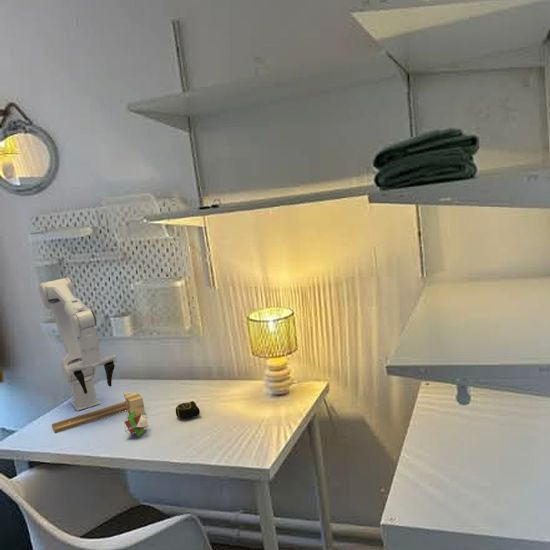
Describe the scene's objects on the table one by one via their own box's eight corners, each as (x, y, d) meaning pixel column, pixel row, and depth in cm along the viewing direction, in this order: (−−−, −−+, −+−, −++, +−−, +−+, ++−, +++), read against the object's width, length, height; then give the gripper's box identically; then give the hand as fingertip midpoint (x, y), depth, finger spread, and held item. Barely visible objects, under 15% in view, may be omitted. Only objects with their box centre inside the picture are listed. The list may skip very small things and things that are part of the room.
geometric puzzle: (115, 432, 174) (125, 412, 171) (127, 422, 180) (137, 402, 177) (135, 446, 173) (145, 426, 170) (146, 435, 179) (156, 415, 177)
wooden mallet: (122, 407, 198) (119, 390, 197) (134, 403, 200) (130, 386, 199) (133, 419, 187) (129, 401, 186) (145, 415, 189) (142, 397, 188)
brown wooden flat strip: (52, 426, 190) (51, 423, 190) (138, 400, 203) (137, 397, 203) (55, 433, 185) (54, 429, 185) (143, 405, 198) (142, 402, 197)
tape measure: (201, 418, 181) (199, 406, 181) (178, 423, 179) (176, 412, 179) (197, 410, 188) (195, 399, 187) (175, 415, 186) (173, 404, 185)
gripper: (68, 357, 182) (77, 399, 184) (115, 344, 188) (123, 385, 191) (64, 352, 188) (72, 393, 190) (110, 340, 194) (117, 380, 197)
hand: (97, 389), depth 191 cm, fingers open, 7 cm apart
